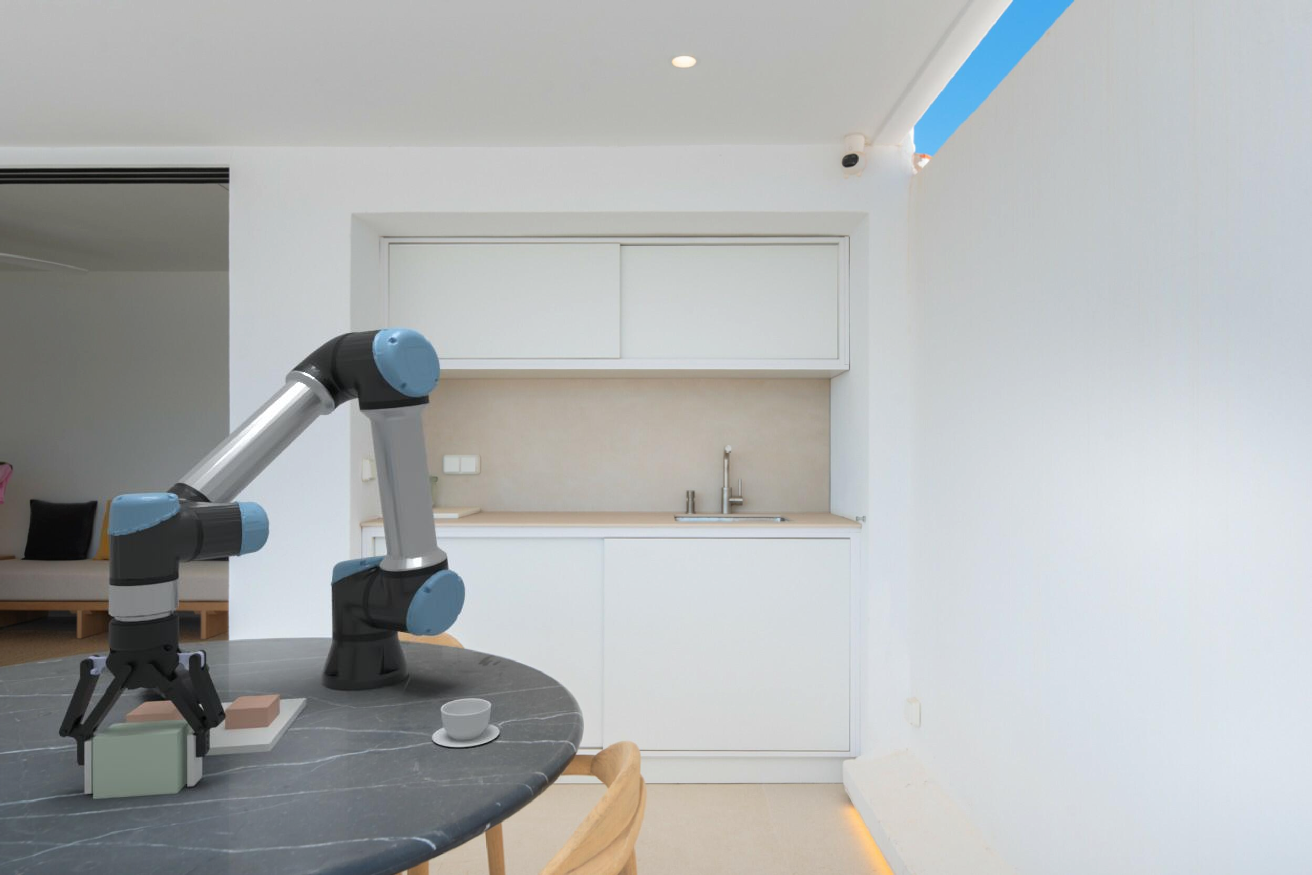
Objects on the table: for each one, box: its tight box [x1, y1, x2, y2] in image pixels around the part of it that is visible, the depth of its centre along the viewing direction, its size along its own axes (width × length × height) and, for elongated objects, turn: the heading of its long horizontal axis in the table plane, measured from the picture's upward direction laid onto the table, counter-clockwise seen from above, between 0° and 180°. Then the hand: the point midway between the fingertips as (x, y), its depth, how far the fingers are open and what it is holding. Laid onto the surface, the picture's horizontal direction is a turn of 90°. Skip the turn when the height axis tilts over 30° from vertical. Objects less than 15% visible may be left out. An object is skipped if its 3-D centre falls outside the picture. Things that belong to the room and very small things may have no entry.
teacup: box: [431, 697, 501, 748], centre depth 118 cm, size 10×10×5 cm
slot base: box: [125, 693, 307, 757], centre depth 120 cm, size 24×20×4 cm
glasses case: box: [152, 647, 210, 701], centre depth 136 cm, size 18×10×8 cm, turn 48°
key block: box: [92, 719, 193, 800], centre depth 100 cm, size 10×5×8 cm, turn 100°
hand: (144, 785), depth 100 cm, fingers open, 11 cm apart
